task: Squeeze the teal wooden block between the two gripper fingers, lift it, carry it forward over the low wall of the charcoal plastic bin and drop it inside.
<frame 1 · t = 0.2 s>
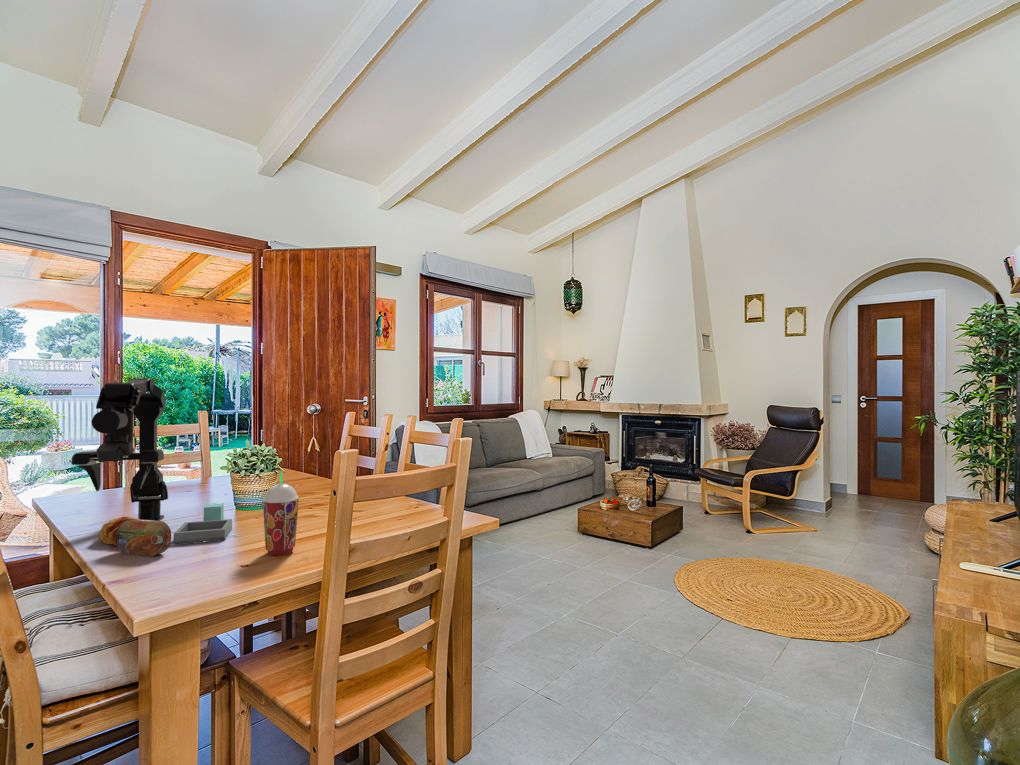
hand: (119, 489, 136), 14 cm above the table, tool pointing down, fingers open, 9 cm apart
bin: (204, 536, 144), on the table
croissant: (123, 541, 141), on the table
smoothie: (280, 553, 131), on the table
block: (213, 525, 156), on the table
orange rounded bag: (143, 554, 129), on the table
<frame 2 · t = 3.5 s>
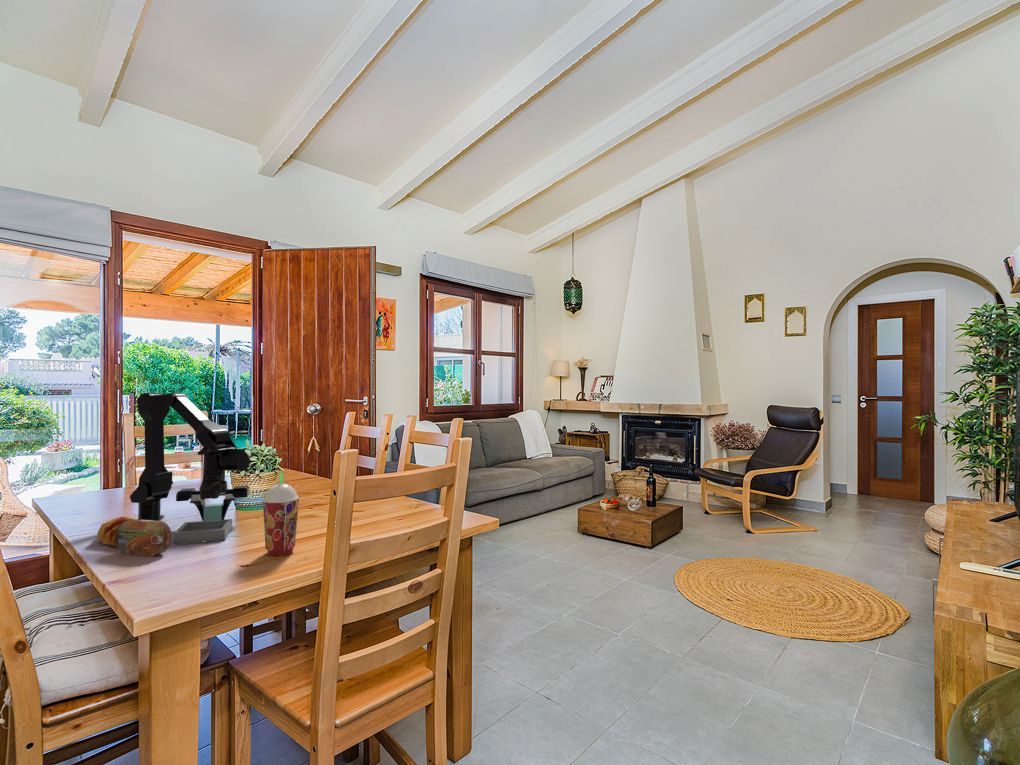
hand: (213, 521, 156), 1 cm above the table, tool pointing down, fingers closed on block, 4 cm apart
block: (213, 525, 156), on the table, touching gripper
everything else where it was.
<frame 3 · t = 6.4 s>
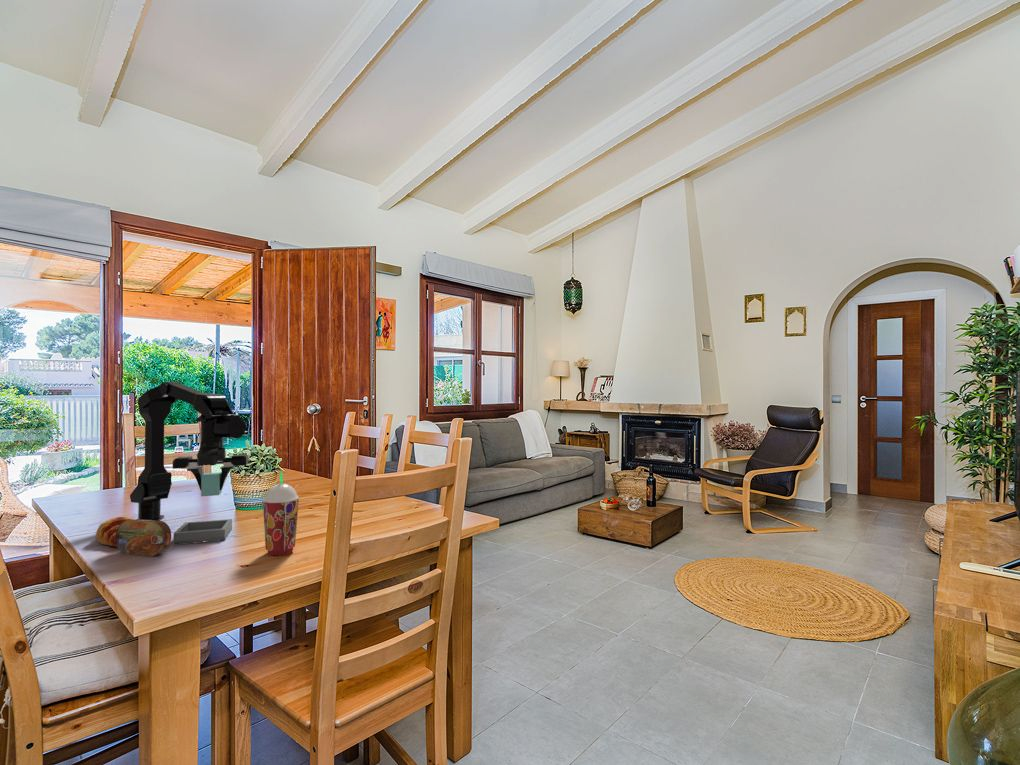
hand: (211, 490, 152), 11 cm above the table, tool pointing down, fingers closed on block, 4 cm apart
block: (211, 494, 152), point 10 cm above the table, touching gripper
everything else where it was.
when the fingers open (4 cm above the table, at t = 9.2 s): block drops 2 cm, resting on bin.
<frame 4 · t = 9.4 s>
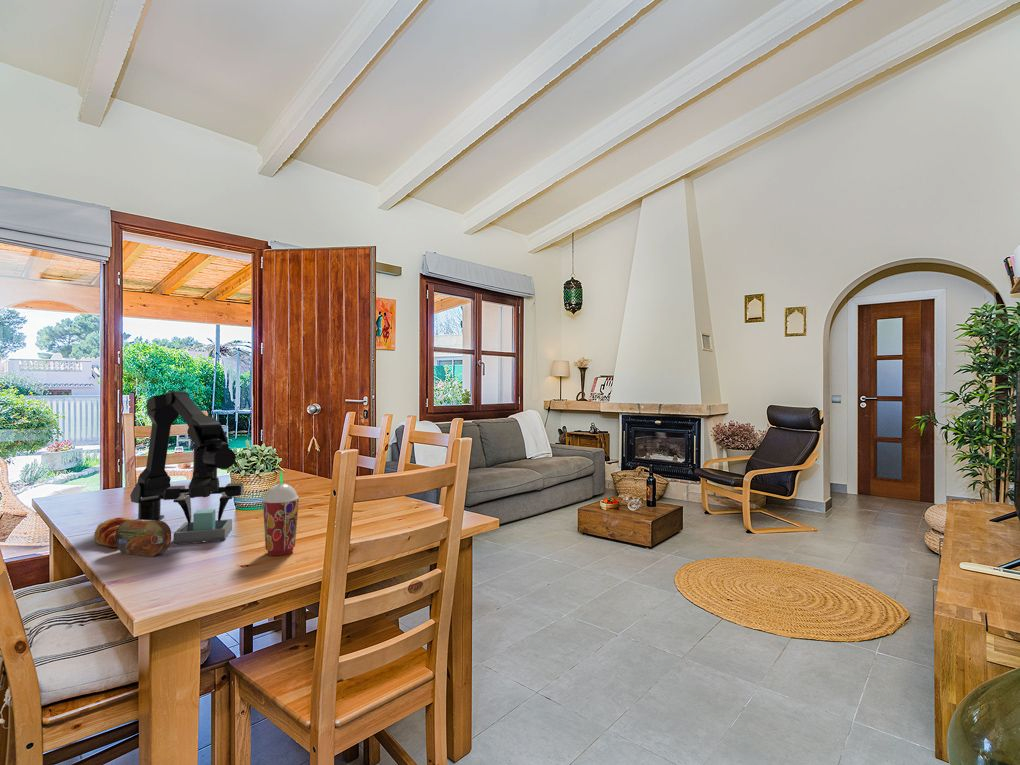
hand: (204, 522, 144), 4 cm above the table, tool pointing down, fingers open, 7 cm apart
block: (204, 532, 144), point 1 cm above the table, touching bin
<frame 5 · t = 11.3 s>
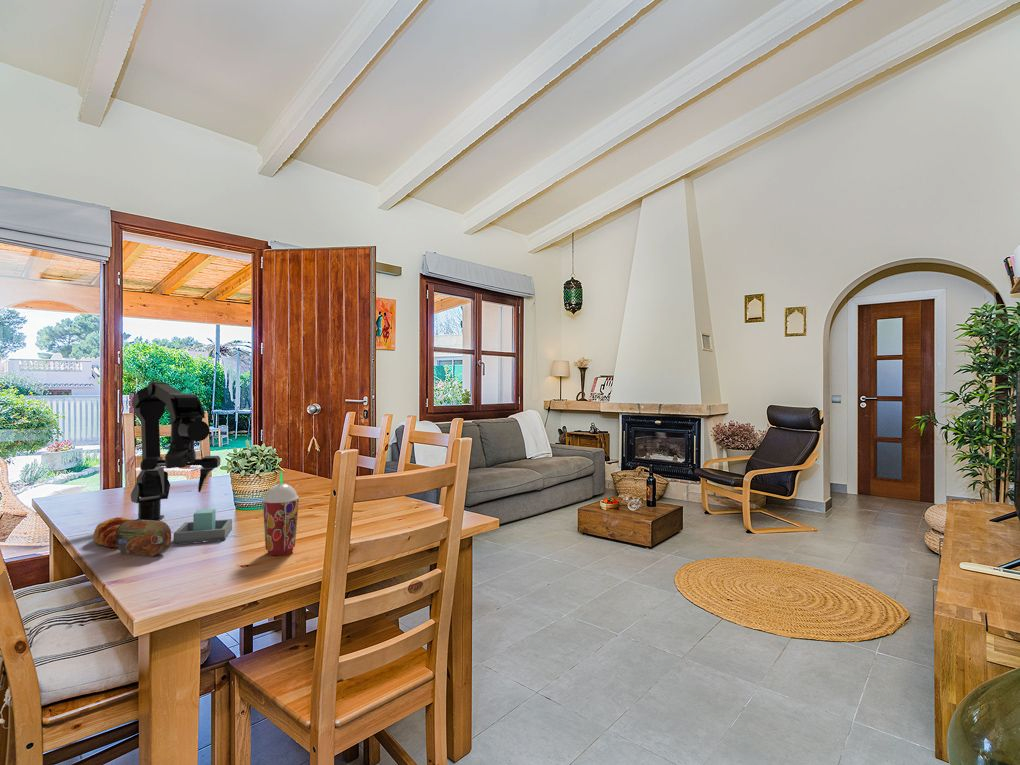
hand: (181, 492, 148), 11 cm above the table, tool pointing down, fingers open, 9 cm apart
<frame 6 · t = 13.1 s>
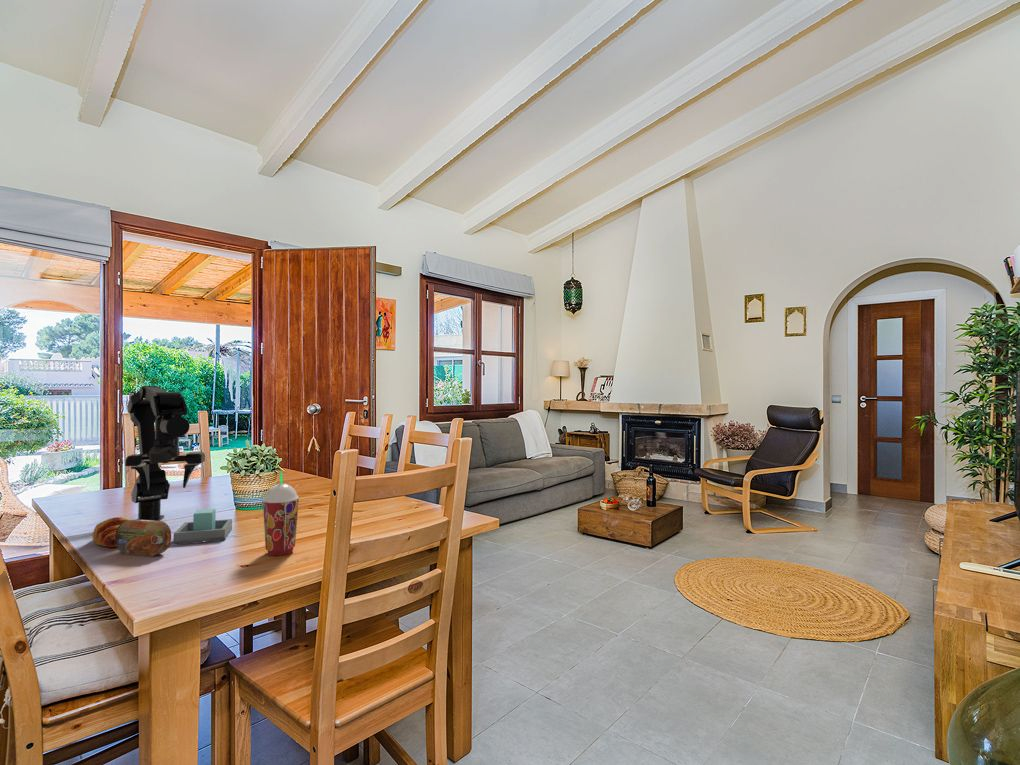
hand: (166, 488, 151), 12 cm above the table, tool pointing down, fingers open, 9 cm apart
at the end: block inside the target area on the bin (0.0 cm from its centre), point 1.0 cm above the bin's base; the gripper is holding nothing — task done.
